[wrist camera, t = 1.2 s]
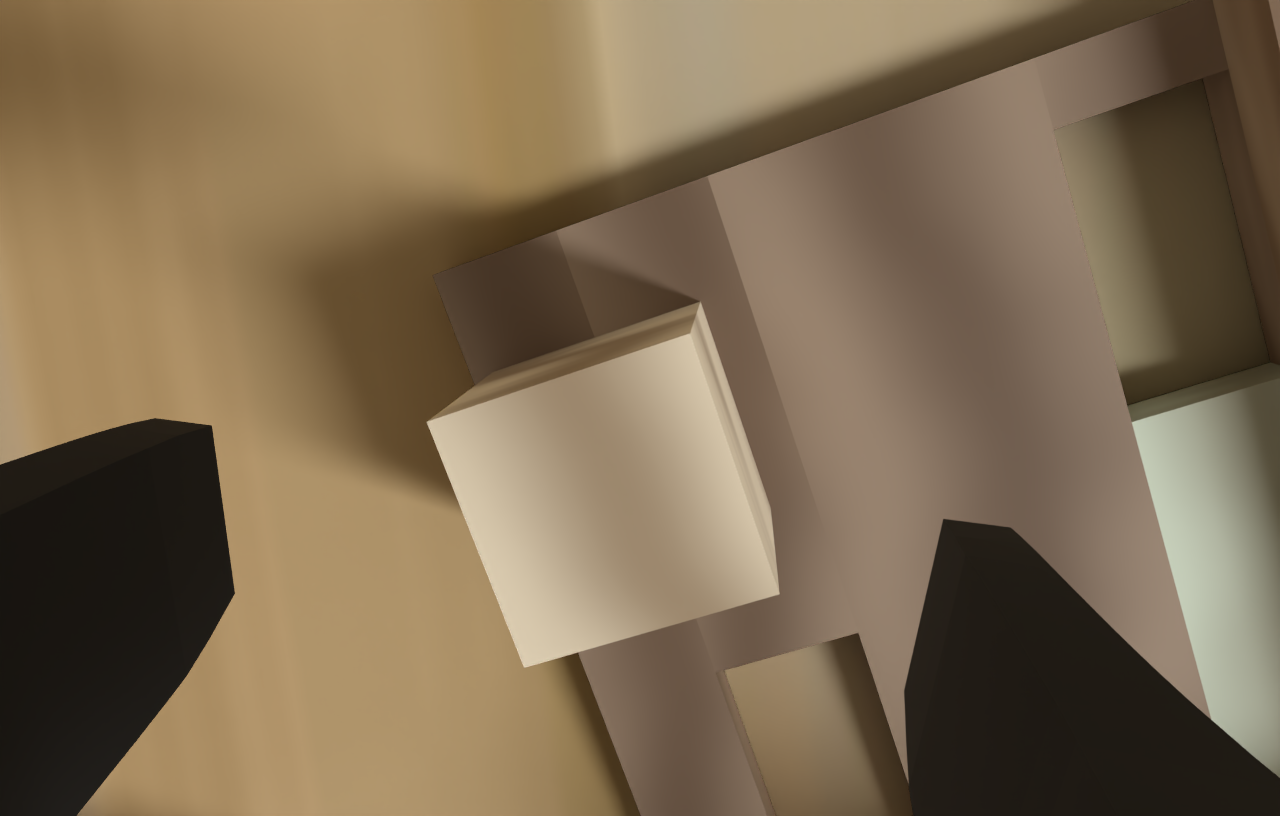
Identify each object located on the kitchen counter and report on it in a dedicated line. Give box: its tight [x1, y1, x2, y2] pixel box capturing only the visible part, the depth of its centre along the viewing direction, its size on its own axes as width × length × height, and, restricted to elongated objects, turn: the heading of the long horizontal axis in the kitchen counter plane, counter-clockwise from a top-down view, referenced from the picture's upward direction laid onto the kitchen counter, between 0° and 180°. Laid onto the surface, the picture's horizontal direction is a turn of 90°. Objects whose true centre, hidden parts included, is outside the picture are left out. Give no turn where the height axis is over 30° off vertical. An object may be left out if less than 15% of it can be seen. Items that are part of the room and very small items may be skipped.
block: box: [427, 301, 780, 668], centre depth 21 cm, size 5×5×5 cm
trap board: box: [433, 0, 1280, 816], centre depth 22 cm, size 18×20×3 cm
